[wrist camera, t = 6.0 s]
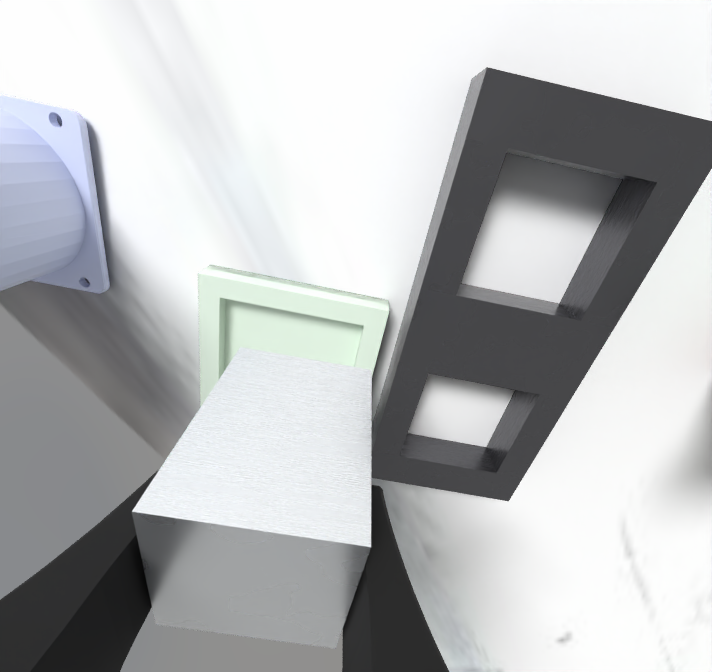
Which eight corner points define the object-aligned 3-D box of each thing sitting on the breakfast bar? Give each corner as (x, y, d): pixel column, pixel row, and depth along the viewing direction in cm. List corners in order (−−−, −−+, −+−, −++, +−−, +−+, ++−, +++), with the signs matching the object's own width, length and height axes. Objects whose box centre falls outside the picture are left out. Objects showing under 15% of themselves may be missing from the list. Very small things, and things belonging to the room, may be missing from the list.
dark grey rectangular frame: (365, 451, 23) (364, 476, 21) (471, 78, 13) (486, 67, 12) (498, 474, 23) (508, 501, 21) (689, 130, 14) (736, 127, 12)
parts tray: (210, 405, 21) (200, 421, 20) (210, 264, 17) (197, 273, 16) (354, 431, 22) (353, 447, 21) (388, 300, 18) (389, 311, 16)
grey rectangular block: (238, 442, 14) (155, 624, 9) (240, 347, 12) (132, 511, 6) (349, 460, 14) (335, 648, 9) (371, 369, 12) (371, 547, 7)
